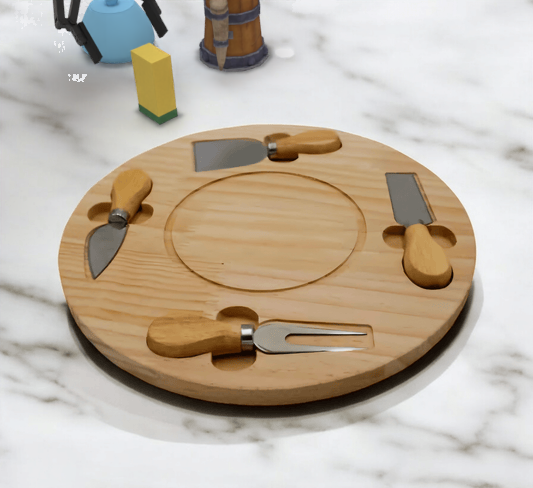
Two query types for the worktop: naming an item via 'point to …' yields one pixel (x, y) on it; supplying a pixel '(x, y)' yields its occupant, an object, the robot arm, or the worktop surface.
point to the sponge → (154, 83)
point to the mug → (232, 35)
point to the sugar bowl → (117, 28)
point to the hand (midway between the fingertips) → (132, 47)
